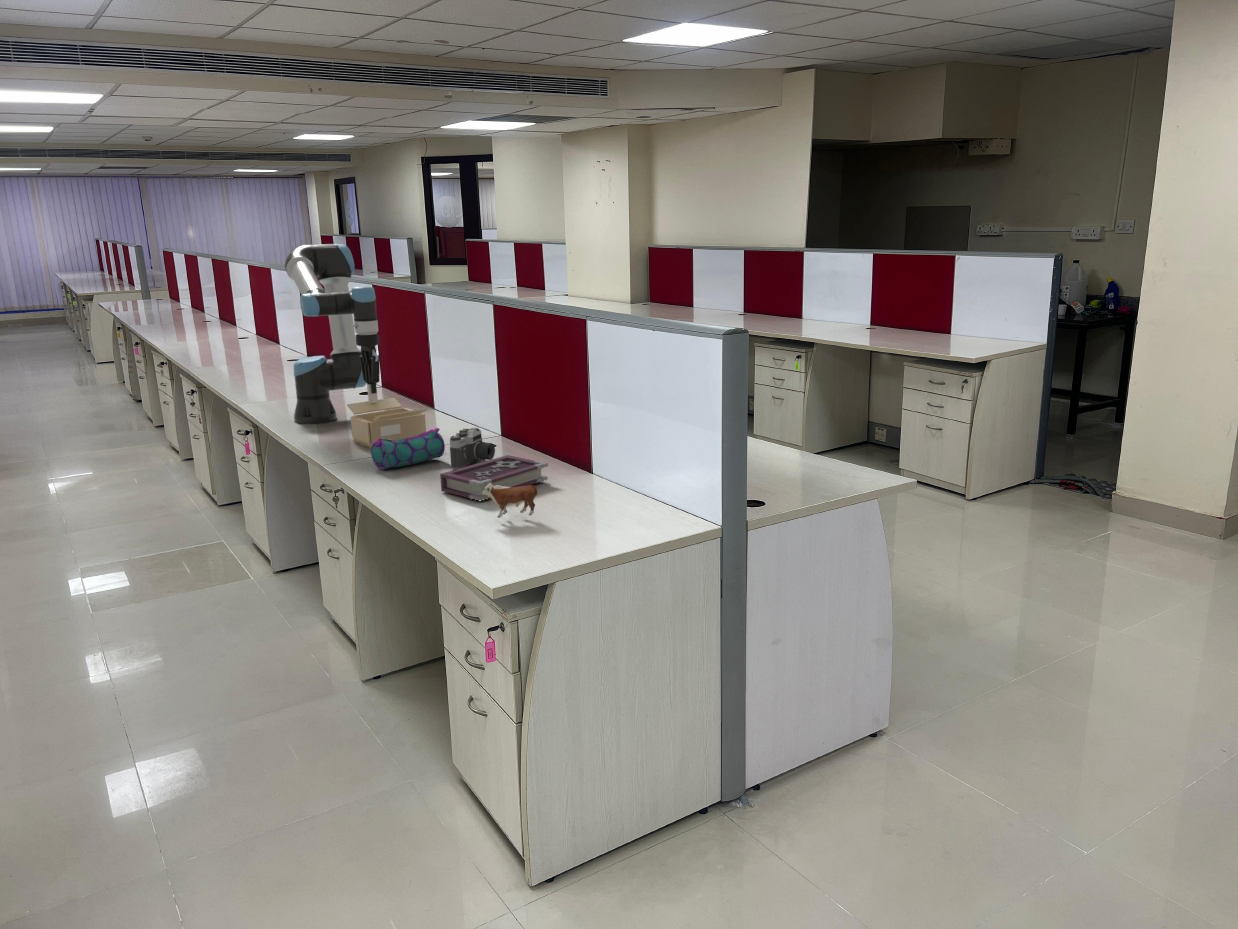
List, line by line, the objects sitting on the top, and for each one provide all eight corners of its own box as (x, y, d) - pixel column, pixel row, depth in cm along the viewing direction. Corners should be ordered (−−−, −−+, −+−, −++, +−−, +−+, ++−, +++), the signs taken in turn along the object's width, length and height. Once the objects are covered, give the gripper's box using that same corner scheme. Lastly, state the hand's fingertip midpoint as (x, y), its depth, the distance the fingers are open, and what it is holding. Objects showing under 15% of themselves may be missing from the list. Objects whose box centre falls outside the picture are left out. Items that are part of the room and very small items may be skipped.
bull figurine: (483, 513, 220) (481, 481, 218) (538, 510, 221) (536, 479, 219) (482, 518, 216) (480, 486, 213) (538, 516, 217) (536, 484, 214)
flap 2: (421, 413, 296) (428, 409, 291) (373, 420, 285) (380, 416, 281) (420, 411, 296) (428, 407, 291) (372, 419, 285) (379, 415, 281)
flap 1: (354, 414, 296) (346, 405, 300) (401, 407, 307) (393, 398, 310) (354, 413, 296) (346, 404, 300) (401, 406, 307) (393, 397, 310)
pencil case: (386, 473, 259) (383, 441, 257) (371, 467, 265) (368, 436, 263) (447, 460, 273) (445, 429, 270) (432, 455, 279) (430, 425, 276)
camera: (478, 470, 260) (476, 437, 258) (448, 467, 263) (445, 435, 261) (501, 457, 274) (500, 425, 272) (472, 455, 278) (470, 424, 275)
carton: (351, 442, 298) (349, 416, 295) (407, 432, 310) (405, 407, 308) (371, 450, 287) (368, 423, 284) (428, 439, 299) (426, 413, 297)
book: (480, 501, 231) (479, 483, 230) (441, 491, 241) (439, 473, 240) (548, 480, 250) (547, 462, 248) (509, 471, 260) (508, 454, 258)
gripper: (348, 332, 300) (355, 401, 306) (364, 335, 290) (371, 406, 296) (369, 331, 305) (375, 398, 311) (385, 333, 295) (391, 403, 301)
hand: (373, 402), depth 303 cm, fingers closed
